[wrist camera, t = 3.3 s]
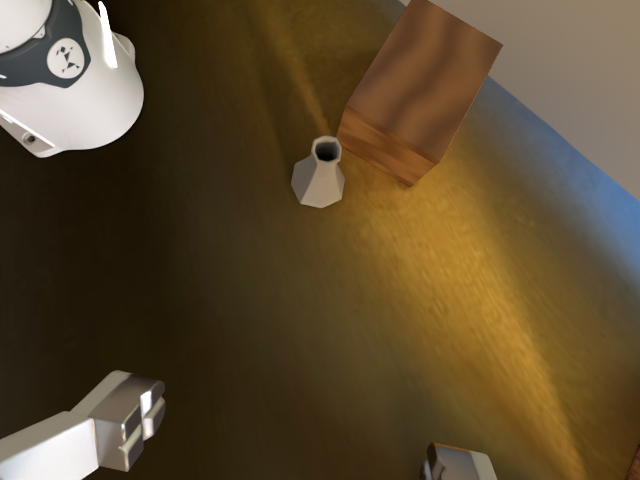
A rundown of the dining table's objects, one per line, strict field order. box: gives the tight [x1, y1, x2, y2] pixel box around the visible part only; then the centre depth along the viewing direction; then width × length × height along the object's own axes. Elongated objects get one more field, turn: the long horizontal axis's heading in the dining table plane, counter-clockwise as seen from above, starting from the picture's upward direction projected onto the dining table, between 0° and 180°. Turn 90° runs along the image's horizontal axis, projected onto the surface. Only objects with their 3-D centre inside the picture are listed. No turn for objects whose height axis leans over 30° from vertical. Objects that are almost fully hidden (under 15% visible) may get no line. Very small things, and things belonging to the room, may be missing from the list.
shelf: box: [336, 0, 503, 187], centre depth 41 cm, size 12×17×9 cm
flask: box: [291, 135, 345, 208], centre depth 38 cm, size 7×7×10 cm
